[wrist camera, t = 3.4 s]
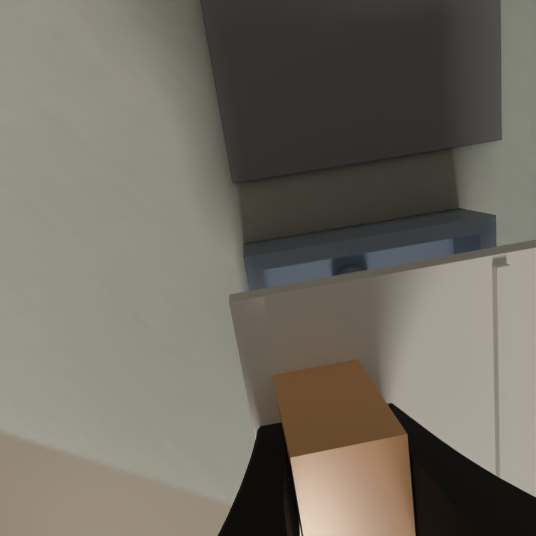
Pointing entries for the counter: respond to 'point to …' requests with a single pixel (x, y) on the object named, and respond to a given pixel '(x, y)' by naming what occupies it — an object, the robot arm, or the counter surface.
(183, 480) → the counter surface
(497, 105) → the board
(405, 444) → the lid
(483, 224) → the tub
